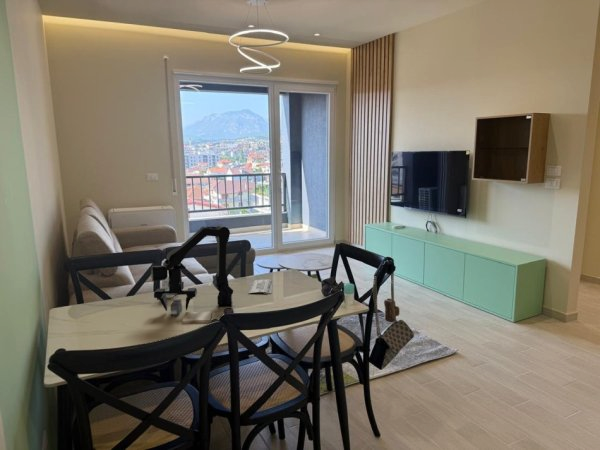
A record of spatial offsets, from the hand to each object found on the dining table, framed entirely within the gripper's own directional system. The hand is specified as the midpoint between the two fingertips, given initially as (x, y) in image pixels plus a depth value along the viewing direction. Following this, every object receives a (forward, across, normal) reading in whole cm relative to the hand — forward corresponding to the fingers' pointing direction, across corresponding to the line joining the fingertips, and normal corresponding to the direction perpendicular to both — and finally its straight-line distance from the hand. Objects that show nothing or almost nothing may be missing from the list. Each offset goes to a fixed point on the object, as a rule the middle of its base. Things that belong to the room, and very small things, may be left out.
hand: (176, 310), depth 196 cm
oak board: (+1, -11, +8) cm, 14 cm away
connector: (+1, 0, 0) cm, 1 cm away
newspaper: (+2, -40, -35) cm, 53 cm away
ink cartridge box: (+1, +8, -25) cm, 26 cm away
